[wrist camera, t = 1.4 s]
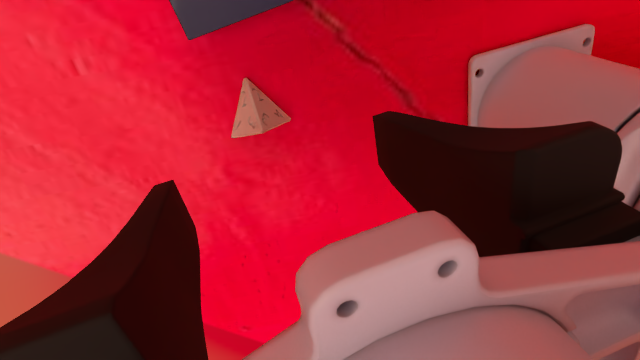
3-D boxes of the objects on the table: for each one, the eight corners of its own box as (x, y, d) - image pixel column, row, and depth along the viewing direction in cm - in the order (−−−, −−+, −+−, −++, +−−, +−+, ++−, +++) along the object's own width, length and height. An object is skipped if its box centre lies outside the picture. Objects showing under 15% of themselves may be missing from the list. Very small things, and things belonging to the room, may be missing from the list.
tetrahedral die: (274, 139, 24) (299, 163, 22) (230, 137, 22) (252, 163, 20) (289, 83, 22) (317, 103, 20) (243, 76, 20) (269, 97, 18)
